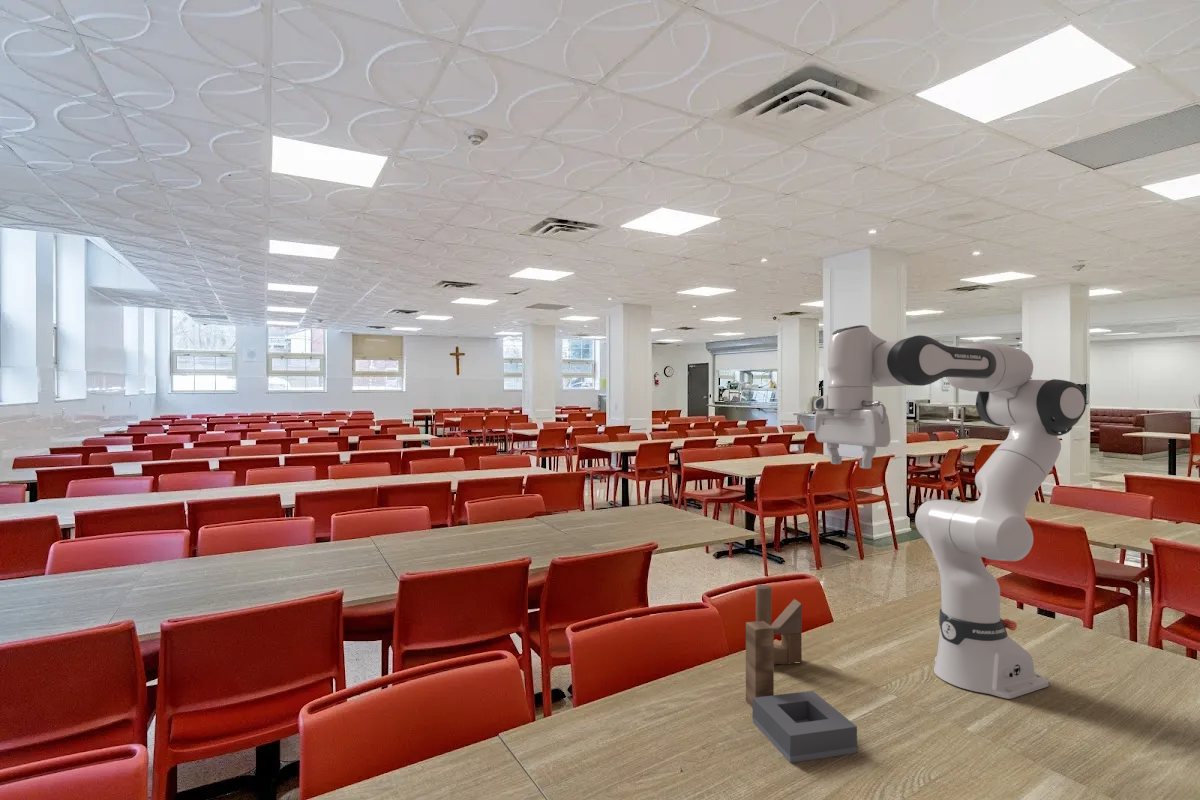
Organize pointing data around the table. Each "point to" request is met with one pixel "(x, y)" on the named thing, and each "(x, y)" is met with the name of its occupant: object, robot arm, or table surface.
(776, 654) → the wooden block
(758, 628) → the brown rectangular bar
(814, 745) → the grey socket base
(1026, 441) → the robot arm
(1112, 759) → the table surface
